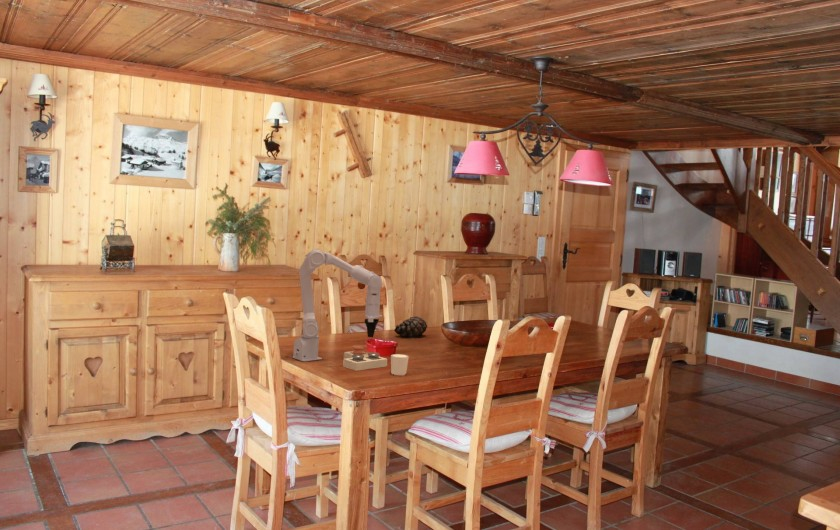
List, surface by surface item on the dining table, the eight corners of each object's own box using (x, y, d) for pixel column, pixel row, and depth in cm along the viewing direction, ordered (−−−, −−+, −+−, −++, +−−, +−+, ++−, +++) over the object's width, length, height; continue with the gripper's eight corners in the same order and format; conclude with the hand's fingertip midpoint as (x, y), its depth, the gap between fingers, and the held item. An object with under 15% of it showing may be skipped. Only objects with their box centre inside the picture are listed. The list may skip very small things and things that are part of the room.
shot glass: (407, 372, 278) (408, 354, 277) (407, 376, 271) (409, 358, 270) (389, 370, 277) (391, 353, 277) (389, 375, 270) (390, 357, 270)
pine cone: (391, 336, 349) (392, 316, 348) (413, 333, 363) (415, 314, 362) (407, 340, 343) (408, 320, 342) (430, 337, 357) (431, 317, 356)
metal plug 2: (372, 366, 281) (373, 355, 281) (364, 363, 284) (365, 352, 284) (381, 365, 284) (381, 354, 284) (373, 362, 288) (374, 351, 287)
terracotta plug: (356, 358, 288) (357, 347, 287) (349, 356, 291) (350, 345, 291) (365, 357, 291) (366, 346, 291) (358, 355, 294) (359, 344, 294)
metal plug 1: (356, 368, 276) (357, 357, 275) (349, 365, 279) (349, 354, 278) (365, 367, 279) (366, 356, 278) (358, 364, 282) (358, 353, 282)
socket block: (356, 370, 273) (356, 363, 273) (327, 361, 285) (328, 354, 285) (386, 366, 285) (387, 359, 284) (358, 357, 297) (359, 350, 297)
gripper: (381, 307, 283) (379, 340, 284) (383, 302, 298) (381, 334, 299) (364, 305, 283) (361, 339, 284) (366, 301, 298) (364, 333, 299)
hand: (370, 336), depth 291 cm, fingers closed
